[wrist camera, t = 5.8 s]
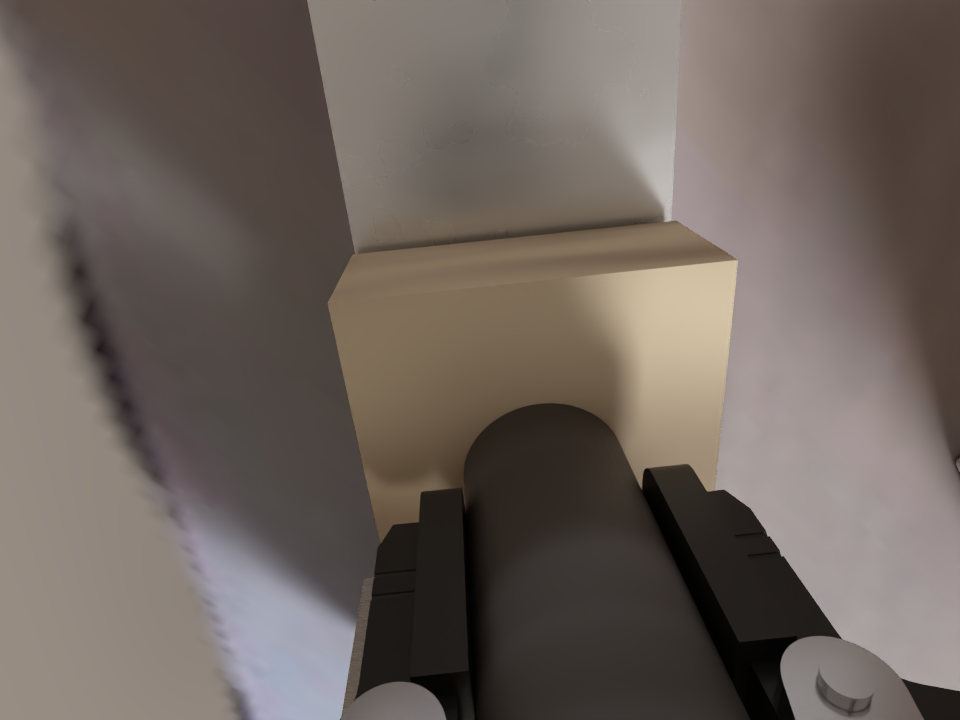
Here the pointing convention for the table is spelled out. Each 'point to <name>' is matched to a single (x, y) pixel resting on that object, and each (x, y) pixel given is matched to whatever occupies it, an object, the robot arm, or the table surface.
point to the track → (496, 124)
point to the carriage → (552, 450)
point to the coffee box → (958, 464)
